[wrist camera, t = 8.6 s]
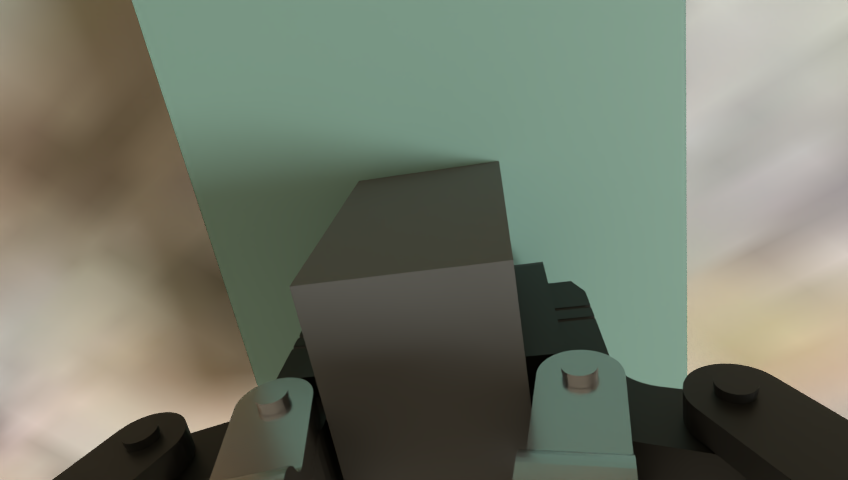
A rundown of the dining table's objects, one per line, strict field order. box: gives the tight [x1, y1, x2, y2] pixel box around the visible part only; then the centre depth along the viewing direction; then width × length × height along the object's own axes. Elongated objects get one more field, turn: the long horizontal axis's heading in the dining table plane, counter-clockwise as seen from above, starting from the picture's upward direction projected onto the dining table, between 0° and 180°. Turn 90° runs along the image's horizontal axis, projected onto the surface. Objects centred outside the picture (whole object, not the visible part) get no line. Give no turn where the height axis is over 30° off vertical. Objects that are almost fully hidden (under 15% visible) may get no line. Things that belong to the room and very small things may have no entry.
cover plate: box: [132, 0, 687, 480], centre depth 11 cm, size 10×18×6 cm, turn 10°
